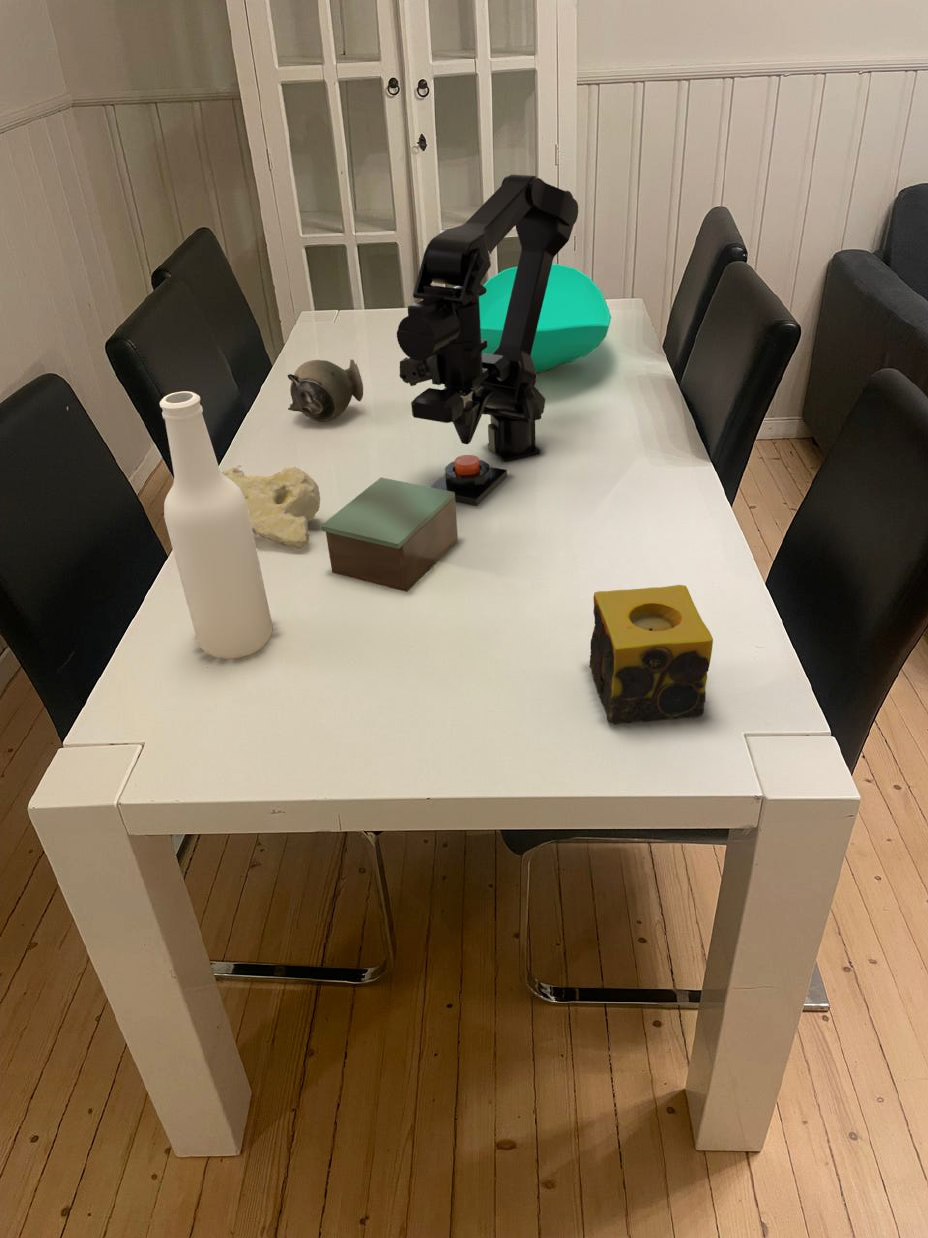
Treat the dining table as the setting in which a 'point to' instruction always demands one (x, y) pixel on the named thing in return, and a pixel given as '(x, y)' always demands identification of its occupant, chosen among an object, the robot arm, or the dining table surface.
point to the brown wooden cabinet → (395, 553)
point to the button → (467, 465)
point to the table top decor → (550, 316)
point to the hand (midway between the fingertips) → (466, 442)
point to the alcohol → (212, 539)
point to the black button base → (471, 483)
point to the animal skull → (279, 503)
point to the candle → (649, 654)
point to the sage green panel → (388, 512)
